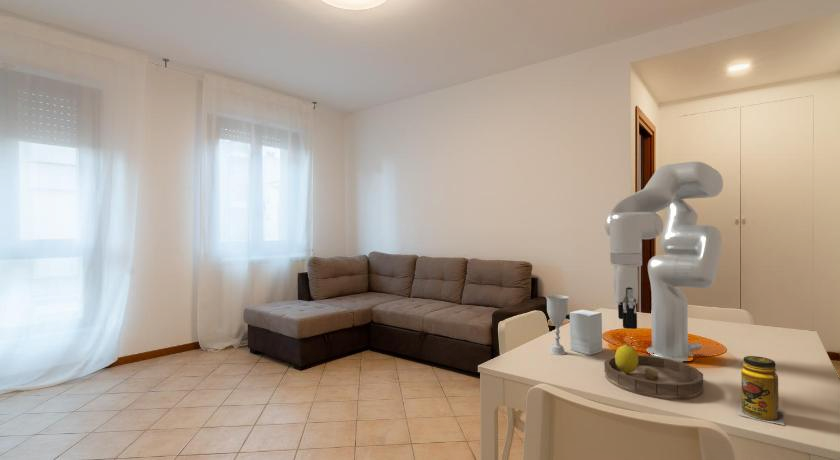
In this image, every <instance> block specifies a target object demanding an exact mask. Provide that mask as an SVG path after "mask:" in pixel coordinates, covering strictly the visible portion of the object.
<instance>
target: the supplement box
mask: <svg viewBox="0 0 840 460" xmlns="http://www.w3.org/2000/svg"><path fill="white" fill-rule="evenodd" d="M602 318H603V317H602V312H600V311H592V310H586V309H579V310H574V311H570V312H569V341H570V342H569V346H570V348H569V349H570V351H573V352H578V353H581V354H584V355H589V356H591V355H595V354H598V353H601V352H603V327H602V326H603V324H602V323H603V321H602Z"/></svg>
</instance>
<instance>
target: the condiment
mask: <svg viewBox="0 0 840 460" xmlns="http://www.w3.org/2000/svg"><path fill="white" fill-rule="evenodd" d="M742 365H743V368H742V369H741V373H740V374H741V385H740V386H741V389H740V390H741V401H739V406H738V416H742V417H746V418H749V419H753V420H757V421H762V422H766V423H772V424H776V425H777V424H778V425H782V426H785V419H784V413H783V409H779V407H780V406H779V375H778V374H777V369H776V361H774V360H773V359H771V358H768V357H764V356H756V355H746V356H744V358H743V364H742Z"/></svg>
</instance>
